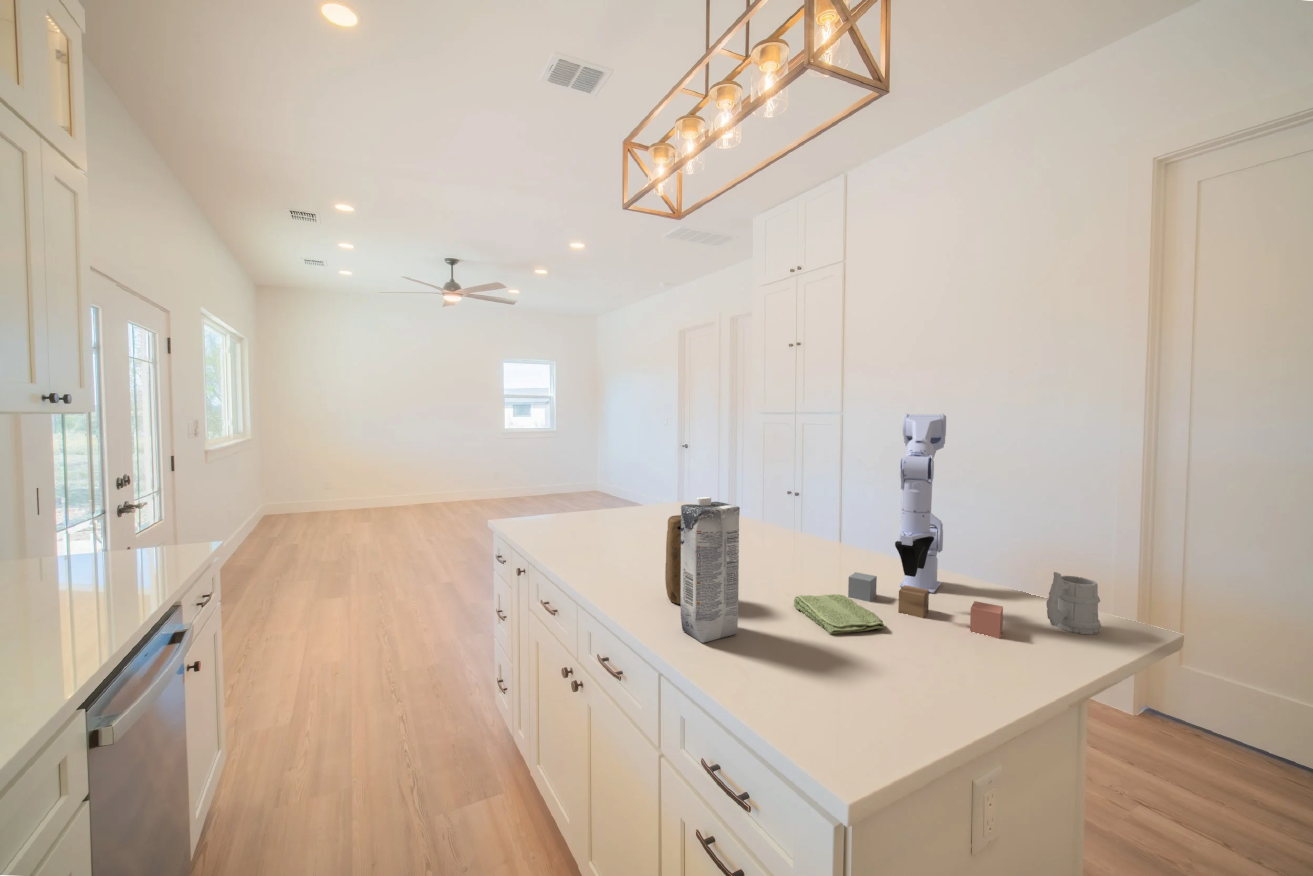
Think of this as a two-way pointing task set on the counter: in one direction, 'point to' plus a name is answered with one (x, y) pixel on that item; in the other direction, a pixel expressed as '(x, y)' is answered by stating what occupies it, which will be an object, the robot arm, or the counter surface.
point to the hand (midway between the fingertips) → (914, 571)
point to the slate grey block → (862, 586)
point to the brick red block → (986, 619)
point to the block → (673, 559)
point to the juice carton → (709, 569)
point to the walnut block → (913, 601)
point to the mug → (1074, 604)
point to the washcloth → (837, 613)
